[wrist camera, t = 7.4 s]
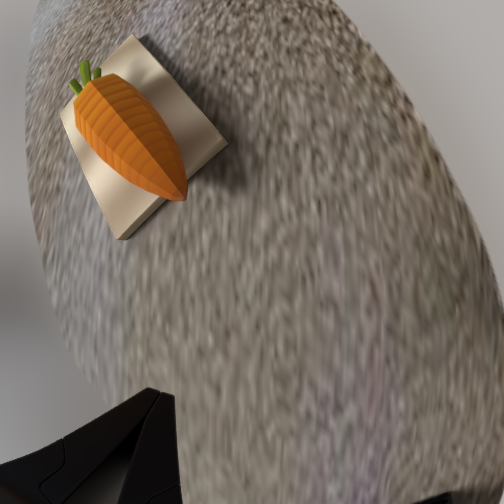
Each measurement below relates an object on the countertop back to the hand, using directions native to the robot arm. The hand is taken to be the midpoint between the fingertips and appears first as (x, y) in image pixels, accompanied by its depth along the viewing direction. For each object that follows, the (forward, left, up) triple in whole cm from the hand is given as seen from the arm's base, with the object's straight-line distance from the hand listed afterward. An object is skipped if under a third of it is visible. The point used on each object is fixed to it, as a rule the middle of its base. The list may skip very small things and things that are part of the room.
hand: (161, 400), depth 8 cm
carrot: (+8, 0, -8) cm, 11 cm away
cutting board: (+18, +3, -11) cm, 21 cm away
